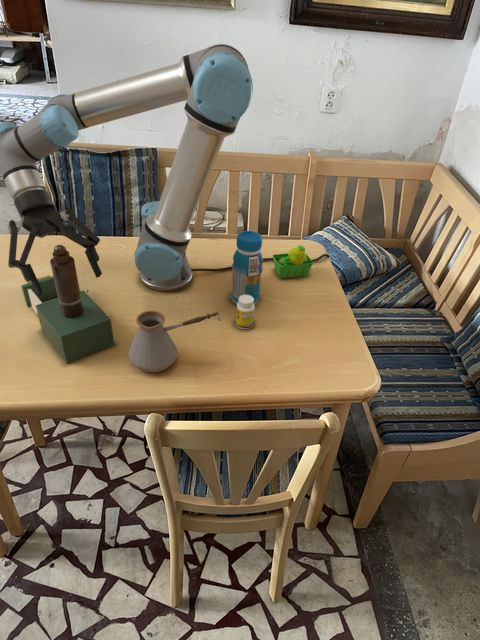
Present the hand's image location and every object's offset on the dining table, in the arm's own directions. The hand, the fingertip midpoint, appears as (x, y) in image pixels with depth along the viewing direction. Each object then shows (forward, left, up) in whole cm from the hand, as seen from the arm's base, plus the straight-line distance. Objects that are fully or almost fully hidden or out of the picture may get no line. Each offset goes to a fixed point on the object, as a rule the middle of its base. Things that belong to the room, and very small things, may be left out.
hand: (70, 284), depth 109 cm
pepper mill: (+1, -2, -9) cm, 9 cm away
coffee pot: (-22, +9, -17) cm, 29 cm away
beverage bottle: (-43, -17, -17) cm, 50 cm away
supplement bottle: (-41, -5, -17) cm, 45 cm away
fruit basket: (-60, -30, -17) cm, 70 cm away
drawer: (+8, -14, -16) cm, 23 cm away
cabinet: (+1, -2, -17) cm, 17 cm away
